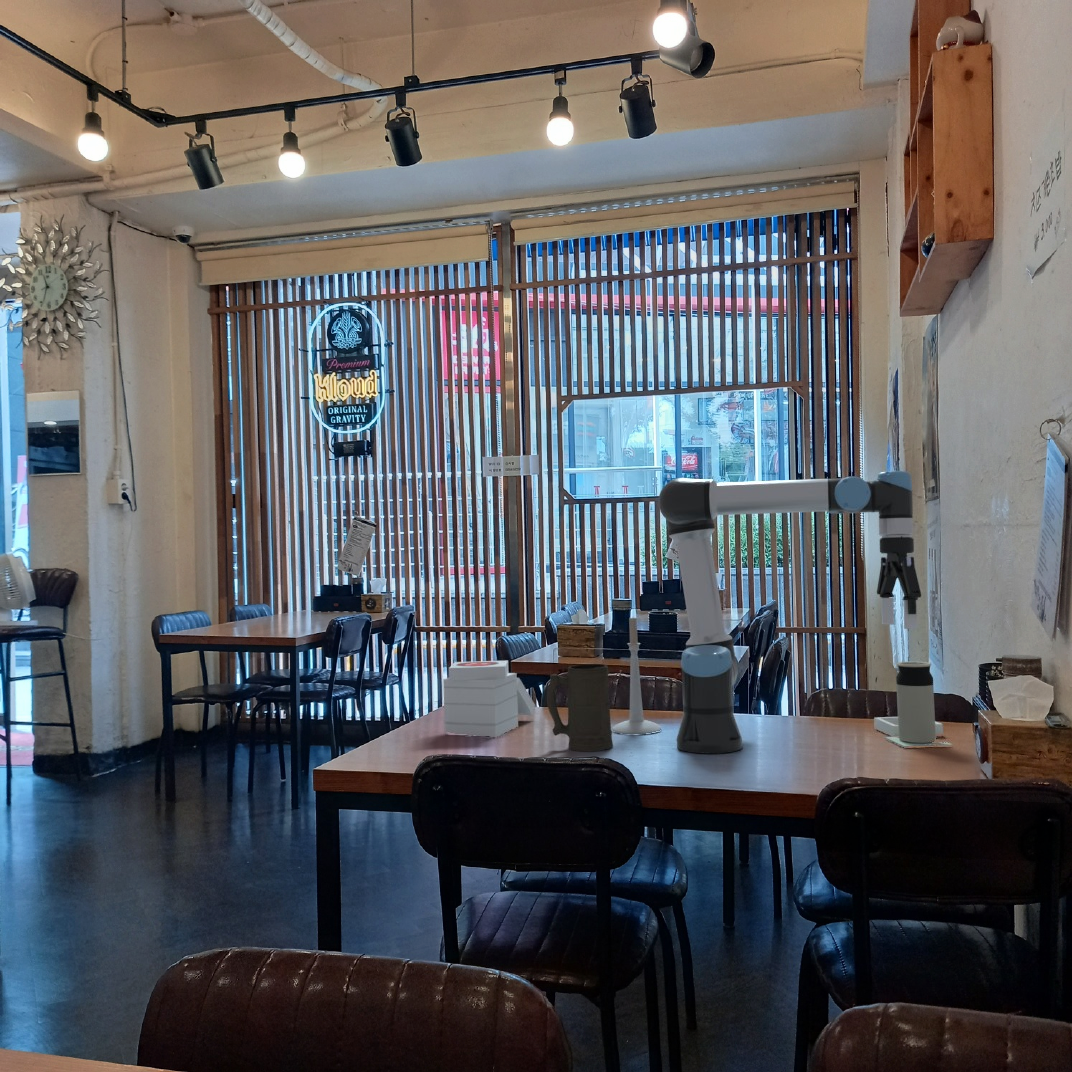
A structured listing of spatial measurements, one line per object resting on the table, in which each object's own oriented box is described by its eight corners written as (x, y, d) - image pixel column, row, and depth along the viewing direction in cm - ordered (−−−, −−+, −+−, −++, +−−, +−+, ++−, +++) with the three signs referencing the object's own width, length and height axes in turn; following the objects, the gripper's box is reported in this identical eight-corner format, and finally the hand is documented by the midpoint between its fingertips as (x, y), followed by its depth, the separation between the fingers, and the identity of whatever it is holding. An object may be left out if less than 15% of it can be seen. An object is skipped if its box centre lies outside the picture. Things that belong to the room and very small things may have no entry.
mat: (904, 748, 209) (904, 746, 209) (885, 739, 220) (885, 737, 220) (952, 747, 209) (952, 744, 209) (930, 738, 220) (930, 735, 220)
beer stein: (609, 741, 229) (601, 660, 229) (621, 749, 218) (612, 665, 218) (549, 749, 226) (541, 668, 226) (557, 758, 215) (549, 672, 216)
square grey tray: (893, 738, 221) (893, 725, 221) (874, 729, 233) (874, 717, 233) (943, 736, 221) (942, 724, 222) (921, 727, 233) (921, 715, 234)
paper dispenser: (542, 719, 264) (540, 656, 264) (499, 739, 236) (497, 668, 236) (481, 717, 271) (479, 655, 271) (432, 736, 243) (431, 667, 244)
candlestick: (660, 726, 248) (656, 614, 249) (662, 734, 235) (658, 617, 236) (612, 726, 249) (609, 615, 250) (611, 735, 236) (607, 618, 237)
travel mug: (930, 745, 209) (927, 665, 210) (894, 742, 214) (891, 664, 215) (939, 739, 216) (936, 662, 216) (904, 736, 220) (901, 660, 221)
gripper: (935, 535, 206) (938, 630, 206) (891, 537, 231) (894, 622, 230) (901, 535, 206) (904, 630, 205) (861, 538, 231) (864, 623, 230)
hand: (898, 626), depth 218 cm, fingers open, 13 cm apart
